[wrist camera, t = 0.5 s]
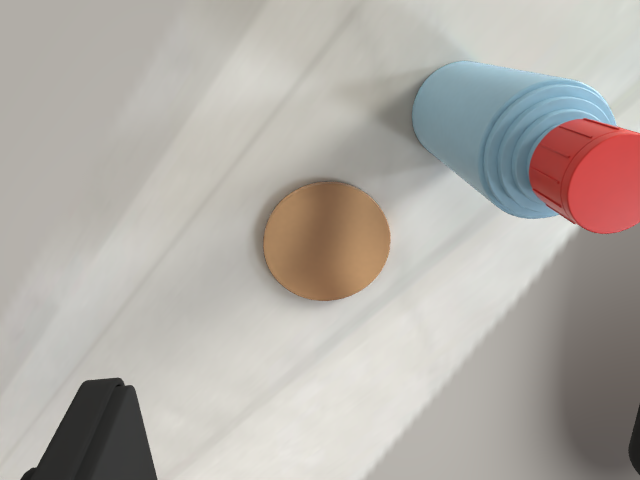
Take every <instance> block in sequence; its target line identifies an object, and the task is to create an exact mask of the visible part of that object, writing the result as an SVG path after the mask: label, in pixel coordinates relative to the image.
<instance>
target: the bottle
mask: <svg viewBox="0 0 640 480" xmlns="http://www.w3.org/2000/svg"><path fill="white" fill-rule="evenodd" d="M583 118H587V119H591V120H595V121H599V122H602V123H605V124H610V125H613V126H616V122H615V118H614V116H613V114H612V112H611V109H610V107H609V105H608V104H607V102H606V101H605V99H604V98H603V97H602V96H601V95H600V94H599V93H598V92H597V91H596V90H595V89H593V88H592V87H590V86H588V85H587V84H585V83H582V82H579V81H576V80H571V79H566V78H560V77H555V76H549V75H544V74H538V73H533V72H527V71H522V70H516V69H510V68H505V67H499V66H494V65H488V64H483V63H477V62H472V61H459V62H454V63H450V64H448V65H445V66H443V67H441V68H439V69H438V70H436V71H435V72H434V73H432V74H431V75H430V76H429V77H428V78H427V79H426V80H425V82H424V83H423V84H422V86H421V87H420V89H419V91H418V93H417V95H416V98H415V100H414V104H413V110H412V122H413V128H414V131H415V134H416V136H417V138H418V140H419V141H420V143H421V144H422V145H423V146H424V147H425V148H426V149H427V150H428V151H429V152H430V153H432V154H433V155H434V156H435V157H436V158H438V159H439V160H440V161H441V162H443V163H444V164H445V165H446V166H448V167H449V168H450V169H451V170H453V171H454V172H455V173H456V174H457V175H459V176H460V177H461V178H462V179H464V180H465V181H466V182H467V183H469V184H470V185H471V186H472V187H473V188H475V189H476V190H477V191H478V192H480V193H481V194H482V195H483V196H485V197H486V198H487V199H488V200H489V201H491V202H492V203H493V204H494V205H496V206H497V207H498V208H500V209H501V210H503V211H504V212H506V213H508V214H511V215H513V216H517V217H521V218H527V219H538V218H546V217H552V216H556V215H560V214H558V213H557V212H555V211H554V210H552V209H551V208H549V207H548V206H546V203H544V202H543V201H541V200H540V199H539V198H538V197H537V196H536V194H535V193H534V191H533V190H532V187H531V184H530V180H529V166H530V161H531V158H532V155H533V153H534V151H535V149H536V147H537V145H538V144H539V143H540V141H541V140H542V139H543V138H544V137H545V136H546V135H547V134H548V133H549V132H550V131H551V130H552V129H554V128H556V127H557V126H559V125H561V124H563V123H565V122H568V121H571V120H575V119H583ZM616 127H617V126H616Z"/></svg>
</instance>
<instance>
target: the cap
mask: <svg viewBox="0 0 640 480" xmlns="http://www.w3.org/2000/svg"><path fill="white" fill-rule="evenodd" d="M529 180H530V184H531V187H532V190H533V191H534V193H535V194H536V196H537V197H538V198H539V199H540V200H541V201H543V202H544V203H546V206H548V207H549V208H551V209H552V210H554V211H555V212H557V213H558V214H560V215H561V216H563V217H564V218H566V219H567V220H569V221H570V222H572V223H573V224H578V225H579V226H581V227H582V228H584V229H586V230H588V231H591V232H594V233H600V234H609V233H616V232H620V231H623V230H626V229H628V228H630V227H632V226H634V225H636V224H637V223H639V222H640V133H637V132H633V131H630V130H627V129H623V128H620V127H616V126H613V125H610V124H605V123H602V122H599V121H595V120H591V119H587V118H583V119H575V120H571V121H568V122H565V123H563V124H561V125H559V126H557V127H556V128H554V129H552V130H551V131H550V132H549V133H548V134H547V135H546V136H545V137H544V138H543V139H542V140H541V141H540V143H539V144H538V145H537V147H536V149H535V151H534V153H533V155H532V158H531V161H530V166H529Z"/></svg>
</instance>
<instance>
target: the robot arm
mask: <svg viewBox="0 0 640 480" xmlns="http://www.w3.org/2000/svg"><path fill="white" fill-rule="evenodd" d="M629 457H630V461H631V462H632V465H633V467H634V468H635V470H636V471H637V472H638V474H639V475H640V405H639V409H638V413H637V417H636V421H635V425H634V428H633V432H632V436H631V440H630V444H629ZM21 480H157V476H156V472H155V468H154V464H153V460H152V456H151V452H150V448H149V444H148V439H147V435H146V431H145V427H144V423H143V419H142V415H141V411H140V407H139V403H138V399H137V395H136V391H135V388H134V387H133V386H132V385H128V386H125V385H124V382H123V381H122V379H121V378H109V379H98V380H87V381H85V382H83V383H82V385H81V386H80V388H79V390H78V392H77V393H76V395H75V397H74V399H73V401H72V403H71V405H70V406H69V408H68V410H67V412H66V414H65V416H64V418H63V419H62V421H61V423H60V425H59V427H58V429H57V431H56V432H55V434H54V436H53V438H52V440H51V442H50V444H49V445H48V447H47V449H46V451H45V453H44V455H43V457H42V458H41V460H40V462H39V464H38V466H37V467H36V468H31V469H30V470H28V471H27V472H26V473H25V474H24V475H23V477H22V478H21Z"/></svg>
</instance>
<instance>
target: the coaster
mask: <svg viewBox="0 0 640 480" xmlns="http://www.w3.org/2000/svg"><path fill="white" fill-rule="evenodd" d="M263 249H264V256H265V259H266V263H267V265H268V267H269V270H270V271H271V273H272V274H273V276H274V277H275V278H276V280H277V281H278V282H279V283H280V284H281V285H282V286H283V287H285V288H286V289H288V290H289V291H290V292H292V293H294V294H296V295H298V296H301V297H304V298H307V299H311V300H319V301H330V300H337V299H342V298H345V297H348V296H351V295H353V294H355V293H357V292H359V291H361V290H362V289H364V288H365V287H366V286H368V285H369V284H370V283H371V282H372V281H373V280H374V279H375V278H376V277H377V276H378V274H379V273H380V272H381V270H382V268H383V266H384V265H385V262H386V260H387V258H388V254H389V250H390V230H389V225H388V222H387V219H386V217H385V215H384V213H383V211H382V210H381V208H380V207H379V205H378V204H377V203H376V202H375V201H374V200H373V198H371V197H370V196H369V195H368V194H367V193H365V192H363V191H362V190H360V189H358V188H356V187H354V186H352V185H348V184H345V183H340V182H317V183H313V184H309V185H306V186H303V187H301V188H299V189H297V190H295V191H293V192H292V193H290V194H289V195H287V196H286V197H285V198H284V199H283V200H282V201H281V202H280V203H279V204H278V205H277V206H276V207H275V209H274V210H273V212H272V213H271V215H270V217H269V219H268V221H267V224H266V227H265V231H264V238H263Z"/></svg>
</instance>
